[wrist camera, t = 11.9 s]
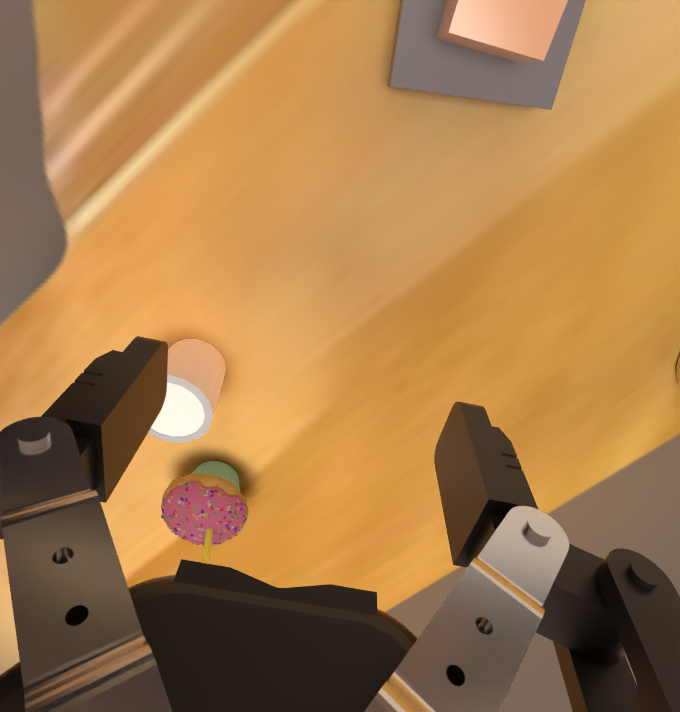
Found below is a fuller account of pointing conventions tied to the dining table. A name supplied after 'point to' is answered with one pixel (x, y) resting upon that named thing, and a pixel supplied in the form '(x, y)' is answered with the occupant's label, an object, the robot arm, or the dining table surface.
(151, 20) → the dining table surface
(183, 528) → the cupcake
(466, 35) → the terracotta cube
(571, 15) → the charcoal block
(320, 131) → the dining table surface
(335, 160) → the dining table surface
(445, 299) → the dining table surface
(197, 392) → the light grey piece
